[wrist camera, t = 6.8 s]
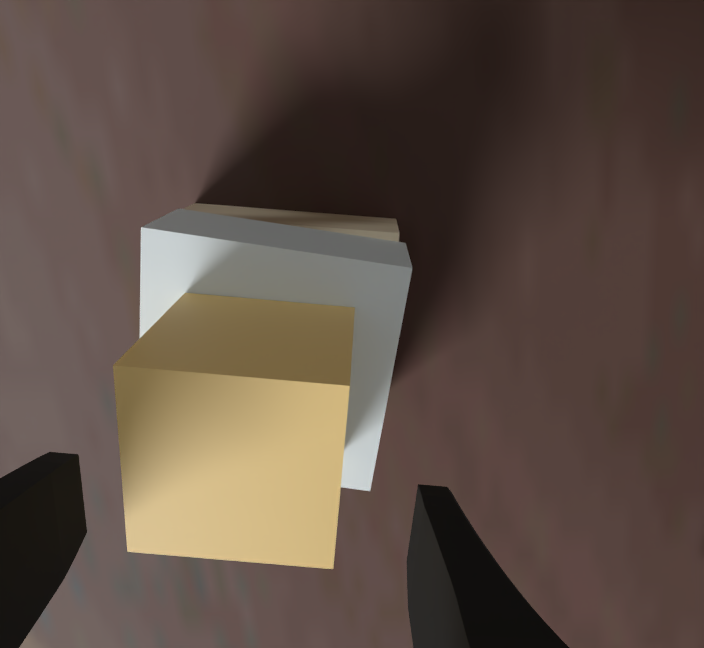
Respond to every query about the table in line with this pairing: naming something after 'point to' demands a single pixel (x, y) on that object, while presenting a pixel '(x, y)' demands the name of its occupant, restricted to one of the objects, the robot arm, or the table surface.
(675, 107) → the table surface
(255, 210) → the birch slab
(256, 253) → the grey-blue slab
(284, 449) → the mustard cube
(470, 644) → the robot arm
